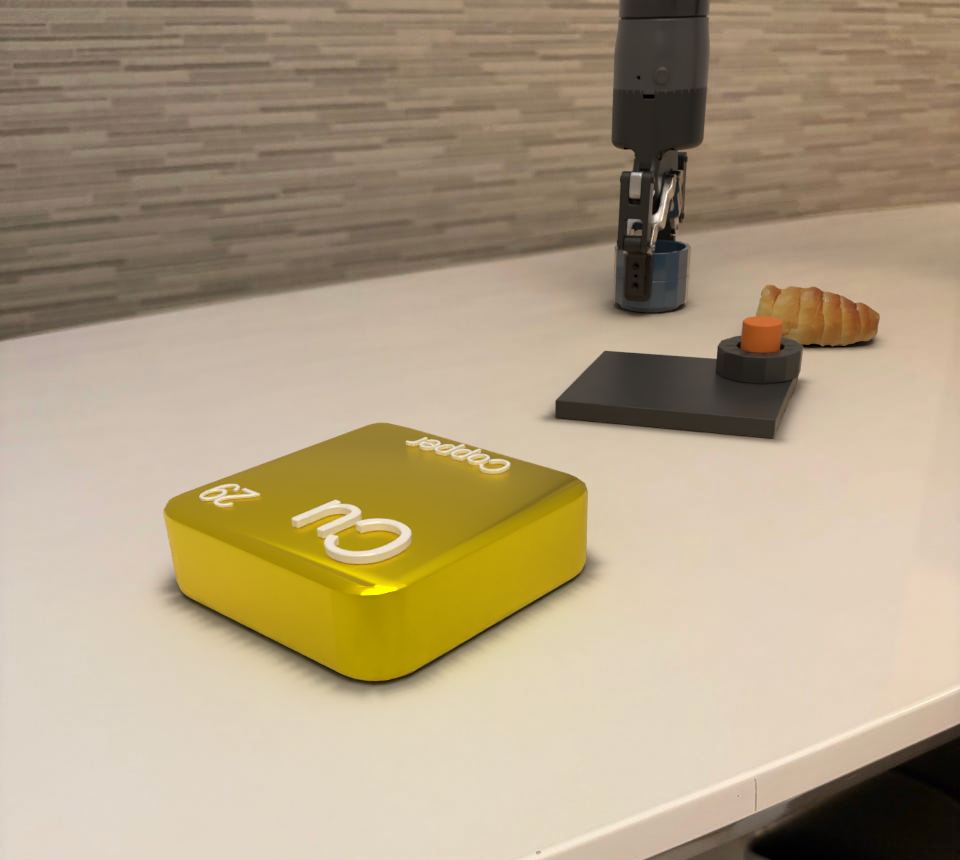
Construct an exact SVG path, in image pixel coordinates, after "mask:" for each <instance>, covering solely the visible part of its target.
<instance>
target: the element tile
mask: <svg viewBox="0 0 960 860" xmlns="http://www.w3.org/2000/svg"><path fill="white" fill-rule="evenodd" d="M588 500H589V491H588V487H587V484H586V482H584V481H583V480H582V479H580V478H578V477H577V476H575V475H572V474H570V473H568V472H564V471H561V470H557V469H554V468H550V467H547V466H543V465H540V464H536V463H533V462H530V461H527V460H523V459H519V458H515V457H512V456H509V455H505V454H502V453H498V452H495V451H492V450H488V449H484V448H481V447H477V446H475V445H471V444H468V443H464V442H460V441H457V440H453V439H449V438H446V437H443V436H439V435H436V434H432V433H429V432H425V431H422V430H419V429H415V428H412V427H408V426H403V425H399V424H395V423H389V422H375V423H370V424H366V425H364V426H361V427H359V428H356V429H353V430H350V431H348V432H345V433H342V434H340V435H337V436H334V437H332V438H329V439H326V440H323V441H321V442H318V443H315V444H312V445H310V446H307V447H304V448H301V449H299V450H296V451H293V452H291V453H288V454H285V455H282V456H280V457H277V458H274V459H272V460H269V461H267V462H263V463H260V464H258V465H255V466H253V467H250V468H248V469H245V470H242V471H238V472H236V473H233V474H231V475H228V476H225V477H223V478H220V479H218V480H215V481H212V482H209V483H207V484H204V485H201V486H198V487H196V488H193V489H190V490H188V491H185V492H183V493H180V494H178V495H175V496H172V498H169V499H168V501H167V503H166V504H165V506H164V508H163V512H162V513H163V519H164V524H165V528H166V533H167V534H166V535H167V540H168V544H169V548H170V554H171V560H172V565H173V570H174V576H175V579H176V584H177V585H178V587H179V589H180V591H181V592H182V594H184V595H185V596H186V597H187V598H189V599H191V600H194V601H195V602H198V603H199V604H201V605H203V606H205V607H207V608H208V609H211V610H213V611H215V612H217V613H219V614H221V615H223V616H225V617H227V618H229V619H231V620H233V621H235V622H237V623H239V624H241V625H243V626H244V627H247V628H249V629H251V630H253V631H255V632H257V633H259V634H261V635H263V636H265V637H266V638H269V639H271V640H273V641H275V642H276V643H279V644H281V645H282V646H284V647H286V648H289V649H291V650H293V651H295V652H297V653H299V654H300V655H302V656H304V657H306V658H309V659H311V660H313V661H315V662H317V663H319V664H321V665H322V666H323V667H324V666H325V667H326V668H329V669H330V670H333V671H334V672H336V673H339V674H341V675H342V676H345V677H348V678H351V679H353V680H358V681H365V682H387V681H390V680H394V679H398V678H401V677H405V676H407V675H410V674H412V673H414V672H416V671H417V670H419V669H421V668H422V667H424V666H426V665H427V664H429V663H431V662H433V661H434V660H436V659H438V658H439V657H442V656H443V655H444V654H447V653H448V652H450V651H452V650H454V649H455V648H457V647H459V646H460V645H461V644H464V643H465V642H467V641H469V640H470V639H472V638H473V637H475V636H477V635H479V634H480V633H482V632H483V631H486V630H487V629H489V628H490V627H492V626H494V625H496V624H497V623H499V622H501V621H503V620H504V619H505V618H508V617H510V616H511V615H513V614H514V613H516V612H518V611H519V610H522V609H523V608H525V607H527V606H528V605H529V604H531V603H533V602H536V601H537V600H539V599H541V597H543V596H546V595H547V594H549V593H550V592H552V591H553V590H556V589H557V588H559V587H560V586H562V585H563V584H565V583H567V582H569V581H570V580H572V579H574V578H575V577H577V576H578V575H579V574H580V573H581V572H582V570H583V568H584V566H585V565H586V562H587V551H588V550H587V549H588V507H589V506H588V503H589V501H588Z"/></svg>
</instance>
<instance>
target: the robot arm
mask: <svg viewBox="0 0 960 860" xmlns="http://www.w3.org/2000/svg"><path fill="white" fill-rule="evenodd" d="M710 5H711V0H618V18H619V19H618V22H617V31H616V39H615V43H614V44H615V45H614V54H613V55H614V56H613V83H612V84H613V85H612V86H613V87H612V108H611V109H612V110H611V111H612V112H611V139H610V141H611V144H612V145H613V146H614V147H615V148H616V149H619V150H623V151H628V150H629V151H630V150H631V151H632V152H633V153H634V159H633V165H632V170H631V171H630V170H623V171H622V172H621V175H620V177H619V183H620V186H619V205H618V223H617V225H618V226H617V240H616V245H617V248H618V251H623V254H627V255H626V263H625V288H624V297H625V299H626V300H628V301H637V302H646V301H648V300H649V299H650V298H651V295H652V278H653V259H654V255H653V254H654V251H655V248H656V245H655V244H656V239H661V240H674V241H677V239H676V238H677V236H678V234H679V231H680V228H681V224H683V222H684V220H685V216H686V215H685V214H686V213H685V200H686V182H687V165H688V161H689V157H688V152H687V151H685V150H692V149H695V148H697V147H699V146H701V144H702V143H703V142H704V136H705V123H706V112H707V111H706V108H707V97H708V96H707V95H708V82H709V70H710V69H709V67H710V53H711V45H710V44H711V42H710V39H711V38H710V17H709V15H710V8H711V7H710ZM636 231H641V235H636V234H635V233H636Z"/></svg>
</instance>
